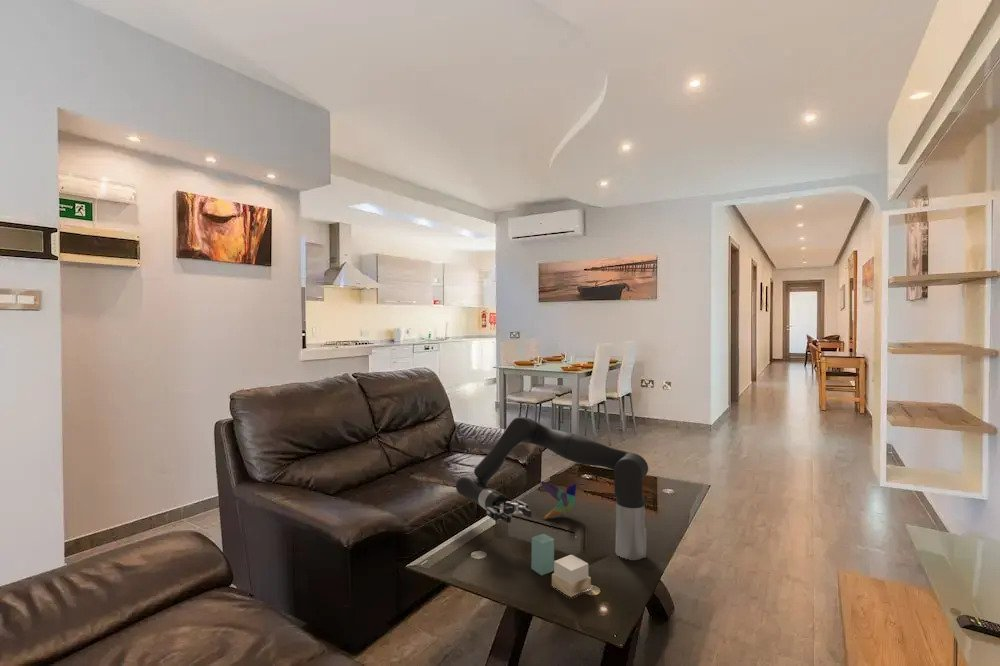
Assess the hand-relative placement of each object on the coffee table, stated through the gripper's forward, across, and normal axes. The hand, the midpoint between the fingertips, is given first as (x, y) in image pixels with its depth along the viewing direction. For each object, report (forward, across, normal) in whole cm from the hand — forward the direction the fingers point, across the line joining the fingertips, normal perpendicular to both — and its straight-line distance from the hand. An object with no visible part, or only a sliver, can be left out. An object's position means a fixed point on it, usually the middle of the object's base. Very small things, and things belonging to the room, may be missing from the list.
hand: (520, 517), depth 164 cm
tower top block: (+24, 0, +9) cm, 26 cm away
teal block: (+12, 0, +13) cm, 17 cm away
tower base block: (+24, 0, +13) cm, 28 cm away
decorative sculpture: (-16, +34, +13) cm, 40 cm away
